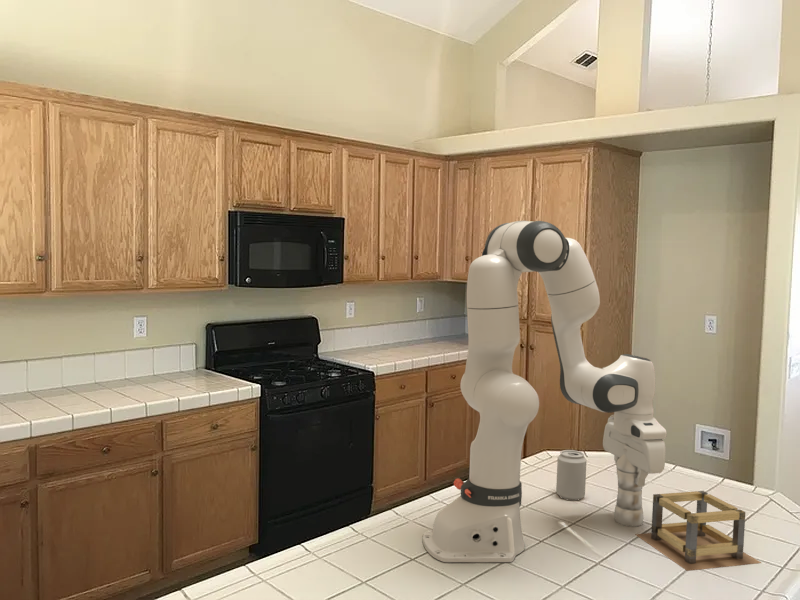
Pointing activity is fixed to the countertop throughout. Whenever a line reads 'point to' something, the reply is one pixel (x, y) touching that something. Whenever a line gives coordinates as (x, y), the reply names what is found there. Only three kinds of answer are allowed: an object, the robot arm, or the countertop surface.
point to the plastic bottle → (628, 494)
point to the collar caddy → (698, 524)
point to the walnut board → (701, 561)
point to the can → (571, 475)
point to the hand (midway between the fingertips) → (630, 480)
